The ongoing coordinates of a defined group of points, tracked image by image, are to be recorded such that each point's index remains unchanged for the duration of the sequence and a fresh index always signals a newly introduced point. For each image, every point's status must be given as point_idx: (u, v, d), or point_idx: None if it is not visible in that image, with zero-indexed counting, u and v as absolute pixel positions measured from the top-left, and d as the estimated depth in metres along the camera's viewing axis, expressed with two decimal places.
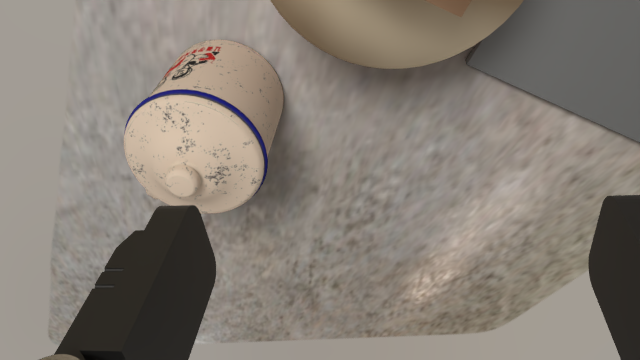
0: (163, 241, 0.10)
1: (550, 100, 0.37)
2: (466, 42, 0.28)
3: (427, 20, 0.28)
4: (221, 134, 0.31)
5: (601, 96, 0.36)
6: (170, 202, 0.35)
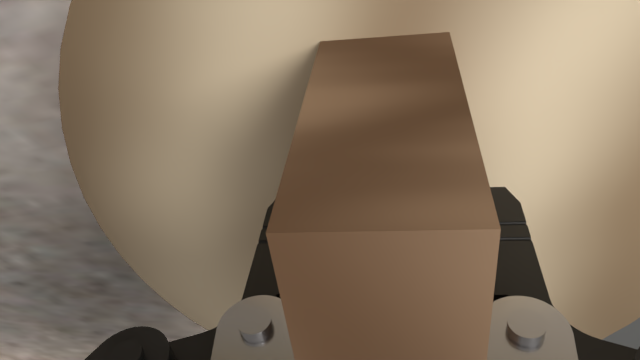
0: None
1: None
2: None
3: None
4: None
5: None
6: None
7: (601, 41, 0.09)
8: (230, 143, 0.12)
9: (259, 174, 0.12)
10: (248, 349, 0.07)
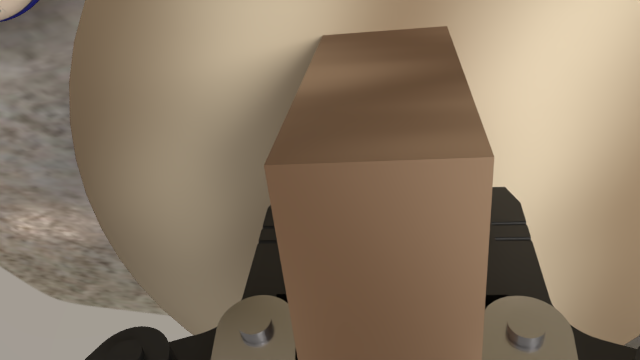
0: None
1: None
2: None
3: None
4: None
5: None
6: None
7: (593, 35, 0.10)
8: (233, 139, 0.12)
9: (261, 172, 0.12)
10: (248, 349, 0.07)
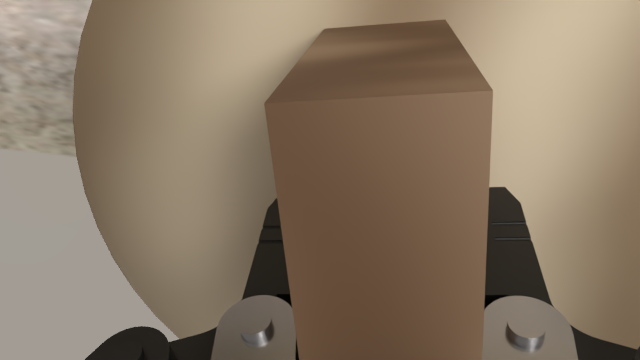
0: None
1: None
2: None
3: None
4: None
5: None
6: None
7: (588, 28, 0.10)
8: (234, 134, 0.12)
9: (261, 169, 0.12)
10: (248, 349, 0.07)
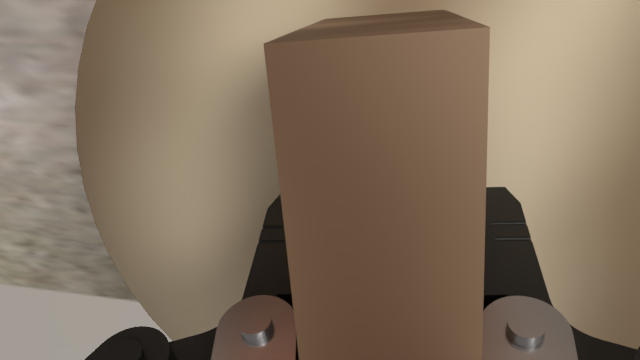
0: None
1: None
2: None
3: None
4: None
5: None
6: None
7: (584, 18, 0.10)
8: (234, 126, 0.12)
9: (261, 161, 0.12)
10: (248, 349, 0.07)
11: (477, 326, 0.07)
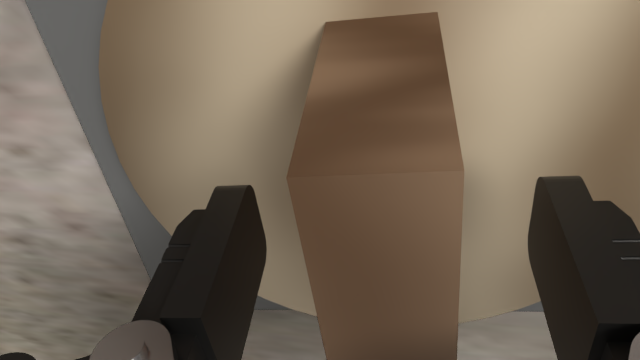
0: (226, 218, 0.10)
1: (70, 92, 0.15)
2: (289, 300, 0.18)
3: (281, 249, 0.16)
4: None
5: None
6: None
7: (569, 17, 0.11)
8: (248, 112, 0.13)
9: (275, 140, 0.14)
10: None
11: (453, 336, 0.09)
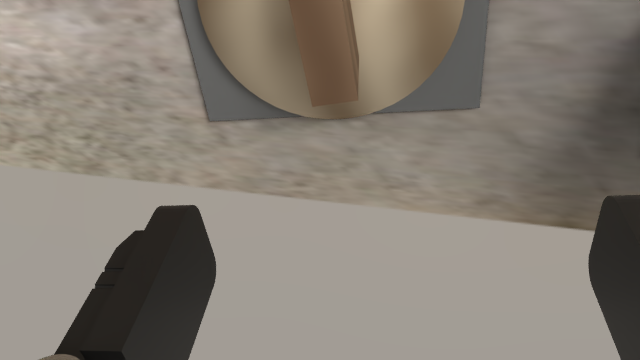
0: (163, 241, 0.10)
1: None
2: (288, 106, 0.34)
3: (282, 70, 0.32)
4: None
5: None
6: None
7: None
8: None
9: (276, 2, 0.30)
10: None
11: (346, 37, 0.25)
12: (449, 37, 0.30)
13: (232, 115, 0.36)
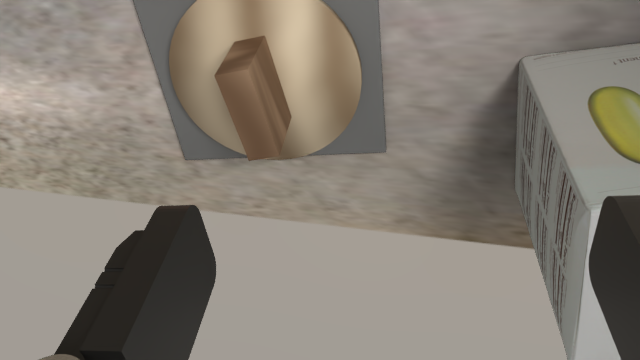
0: (163, 241, 0.10)
1: (155, 63, 0.42)
2: None
3: None
4: None
5: None
6: None
7: (301, 33, 0.38)
8: None
9: None
10: None
11: (264, 116, 0.36)
12: (354, 102, 0.41)
13: (202, 156, 0.47)
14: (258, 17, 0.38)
